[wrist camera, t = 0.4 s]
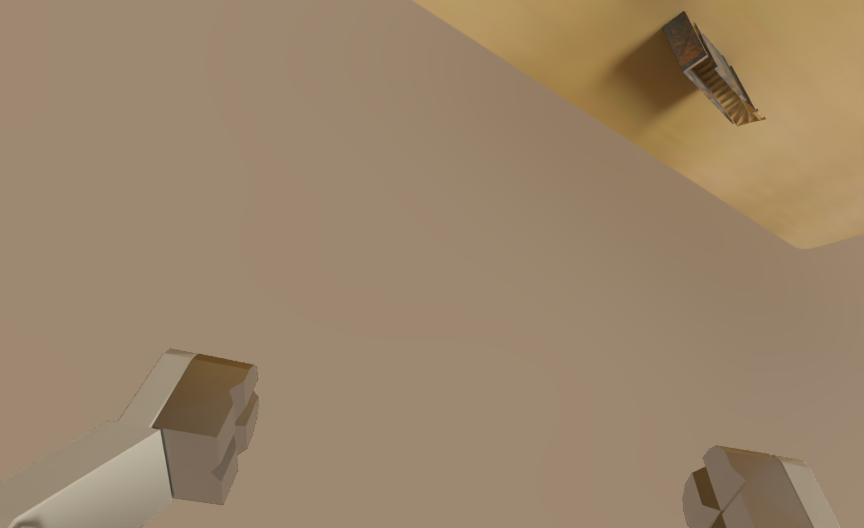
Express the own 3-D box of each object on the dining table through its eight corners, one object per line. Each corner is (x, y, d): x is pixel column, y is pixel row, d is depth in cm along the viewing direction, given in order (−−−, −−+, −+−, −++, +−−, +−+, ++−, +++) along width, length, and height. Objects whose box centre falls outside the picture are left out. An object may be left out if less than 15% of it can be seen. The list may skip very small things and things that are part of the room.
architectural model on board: (734, 62, 68) (767, 120, 63) (710, 78, 70) (739, 137, 64) (687, 5, 61) (718, 65, 56) (661, 25, 63) (689, 85, 58)
